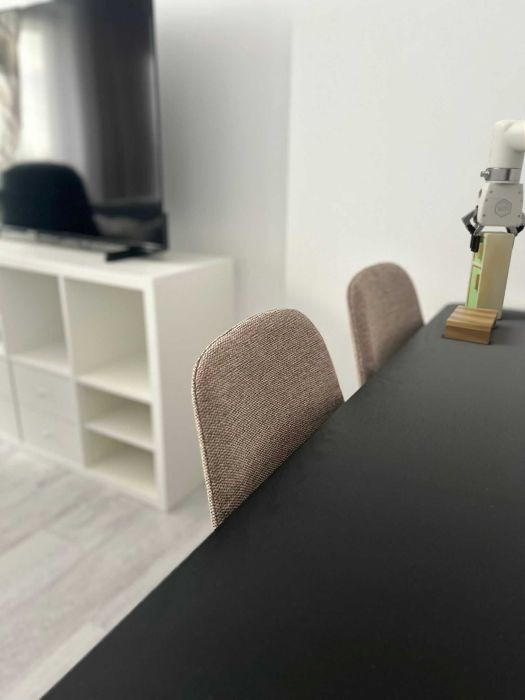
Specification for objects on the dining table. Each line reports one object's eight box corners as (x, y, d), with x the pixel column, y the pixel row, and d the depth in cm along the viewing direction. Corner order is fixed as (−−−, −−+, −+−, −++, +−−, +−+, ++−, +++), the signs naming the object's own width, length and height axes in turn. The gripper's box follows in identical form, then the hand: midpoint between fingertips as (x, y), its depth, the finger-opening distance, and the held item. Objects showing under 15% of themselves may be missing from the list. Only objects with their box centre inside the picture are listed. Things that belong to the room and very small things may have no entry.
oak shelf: (456, 320, 127) (458, 305, 125) (495, 326, 122) (498, 310, 121) (444, 337, 113) (446, 320, 112) (487, 344, 109) (491, 326, 108)
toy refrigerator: (460, 310, 136) (473, 230, 129) (488, 311, 136) (502, 231, 129) (471, 319, 128) (484, 233, 121) (500, 320, 128) (516, 234, 121)
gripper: (472, 176, 117) (461, 253, 123) (547, 177, 117) (532, 255, 123) (460, 175, 124) (450, 249, 130) (531, 177, 125) (518, 250, 130)
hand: (490, 251), depth 127 cm, fingers closed on toy refrigerator, 7 cm apart
